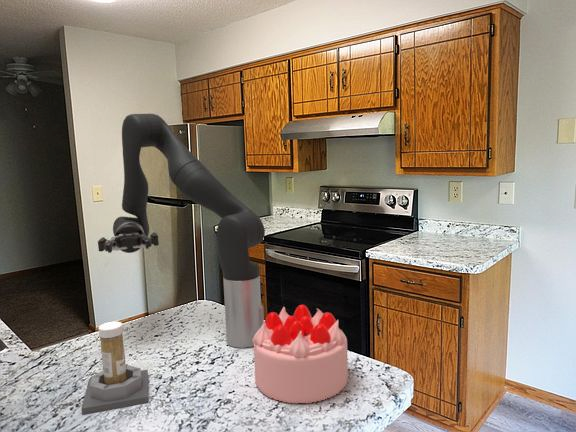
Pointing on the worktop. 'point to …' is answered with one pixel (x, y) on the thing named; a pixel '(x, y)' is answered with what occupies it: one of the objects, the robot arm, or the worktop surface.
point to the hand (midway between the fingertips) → (128, 246)
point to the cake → (300, 356)
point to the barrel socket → (116, 391)
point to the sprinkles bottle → (112, 352)
